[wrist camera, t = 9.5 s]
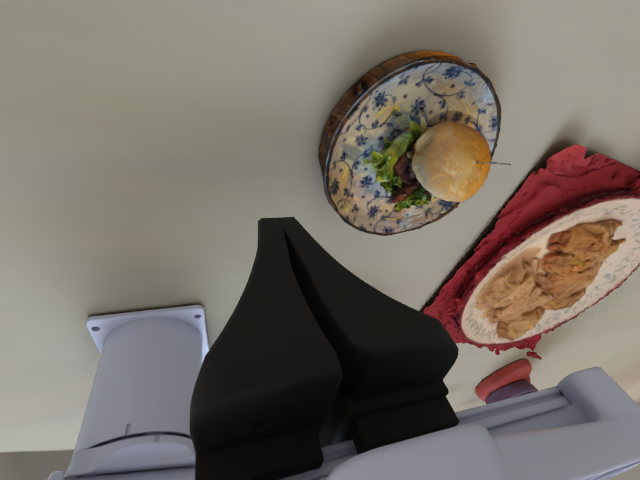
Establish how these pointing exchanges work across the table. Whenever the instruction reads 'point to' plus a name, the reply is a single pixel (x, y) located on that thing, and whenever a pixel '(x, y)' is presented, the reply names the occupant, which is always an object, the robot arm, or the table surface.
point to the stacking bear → (507, 383)
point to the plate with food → (547, 254)
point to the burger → (410, 142)
